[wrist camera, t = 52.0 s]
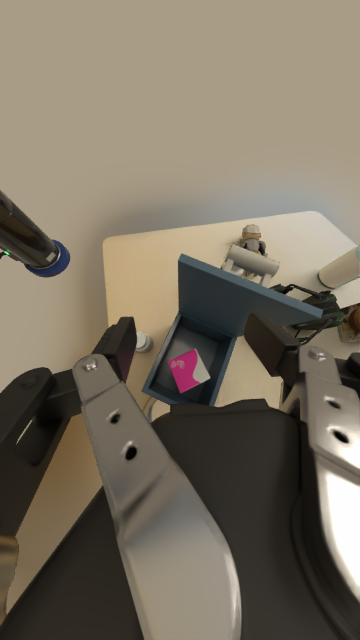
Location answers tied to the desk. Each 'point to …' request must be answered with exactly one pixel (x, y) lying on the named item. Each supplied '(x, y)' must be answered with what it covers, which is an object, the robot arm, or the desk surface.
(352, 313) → the coffee box
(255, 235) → the toy
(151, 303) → the desk surface
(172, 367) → the supplement box
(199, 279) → the lid
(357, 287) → the desk surface
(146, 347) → the pill bottle
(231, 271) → the pill bottle
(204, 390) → the dark blue open box
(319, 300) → the headphones
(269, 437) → the robot arm
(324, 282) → the can
